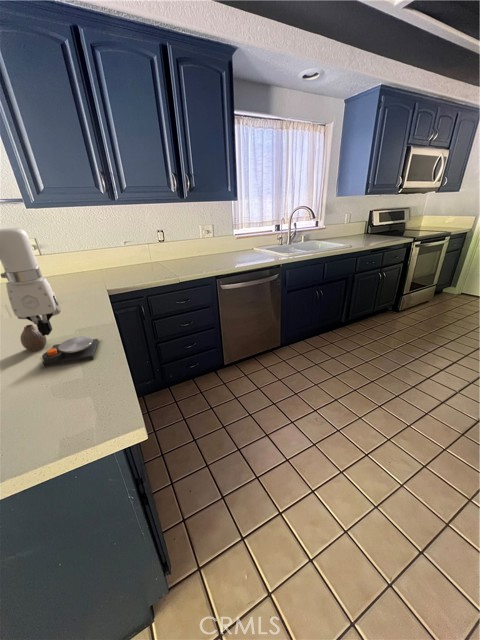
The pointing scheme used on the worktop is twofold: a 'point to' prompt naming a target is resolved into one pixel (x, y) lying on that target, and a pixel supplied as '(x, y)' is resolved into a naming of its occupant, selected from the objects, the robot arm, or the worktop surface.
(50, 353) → the tare button
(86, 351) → the scale
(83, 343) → the pan
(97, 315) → the worktop surface
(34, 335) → the vase
